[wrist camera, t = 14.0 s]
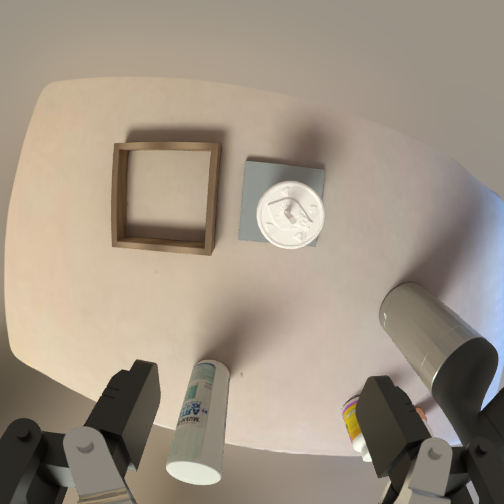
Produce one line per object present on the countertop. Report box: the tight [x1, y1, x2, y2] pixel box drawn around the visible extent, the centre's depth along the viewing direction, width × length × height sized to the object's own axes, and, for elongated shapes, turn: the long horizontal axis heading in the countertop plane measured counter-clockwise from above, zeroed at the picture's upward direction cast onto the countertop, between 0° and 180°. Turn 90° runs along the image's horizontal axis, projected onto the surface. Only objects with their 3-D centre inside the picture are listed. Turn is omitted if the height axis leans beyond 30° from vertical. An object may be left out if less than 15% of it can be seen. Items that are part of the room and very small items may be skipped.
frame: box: [111, 142, 221, 256], centre depth 34 cm, size 14×14×3 cm
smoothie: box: [256, 181, 325, 249], centre depth 28 cm, size 6×6×14 cm
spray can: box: [166, 360, 230, 485], centre depth 33 cm, size 6×6×20 cm
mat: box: [239, 161, 325, 247], centre depth 35 cm, size 10×10×1 cm
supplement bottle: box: [342, 396, 372, 462], centre depth 40 cm, size 7×7×13 cm
